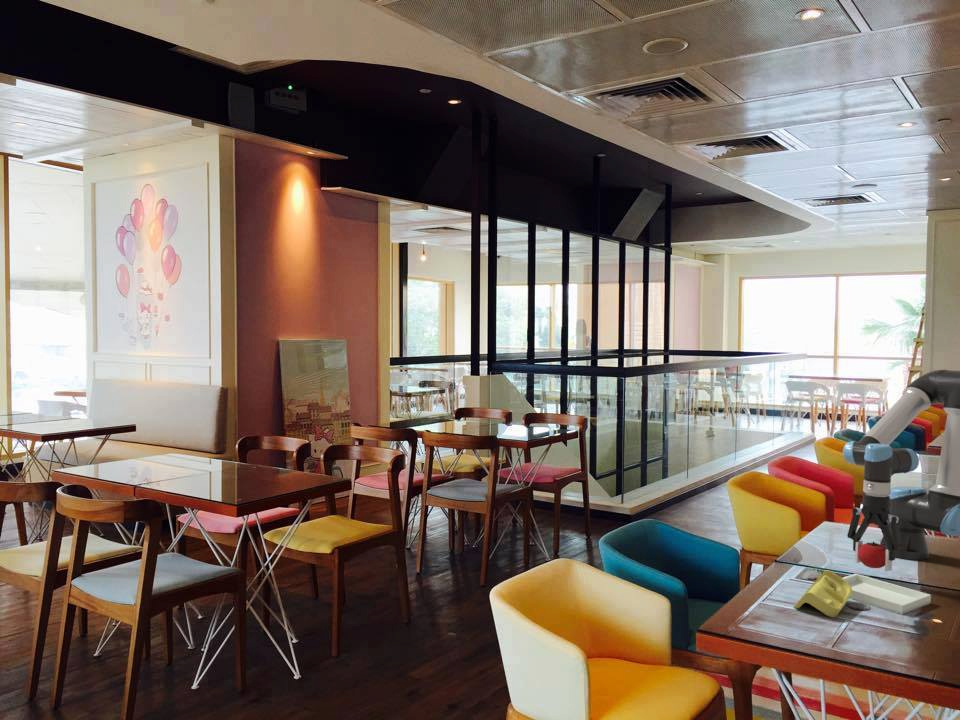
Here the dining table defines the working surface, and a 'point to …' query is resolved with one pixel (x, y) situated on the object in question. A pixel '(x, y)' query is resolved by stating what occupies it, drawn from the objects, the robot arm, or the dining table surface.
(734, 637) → the dining table surface
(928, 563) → the dining table surface
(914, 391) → the robot arm
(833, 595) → the plastic component
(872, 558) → the tomato
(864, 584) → the tray
